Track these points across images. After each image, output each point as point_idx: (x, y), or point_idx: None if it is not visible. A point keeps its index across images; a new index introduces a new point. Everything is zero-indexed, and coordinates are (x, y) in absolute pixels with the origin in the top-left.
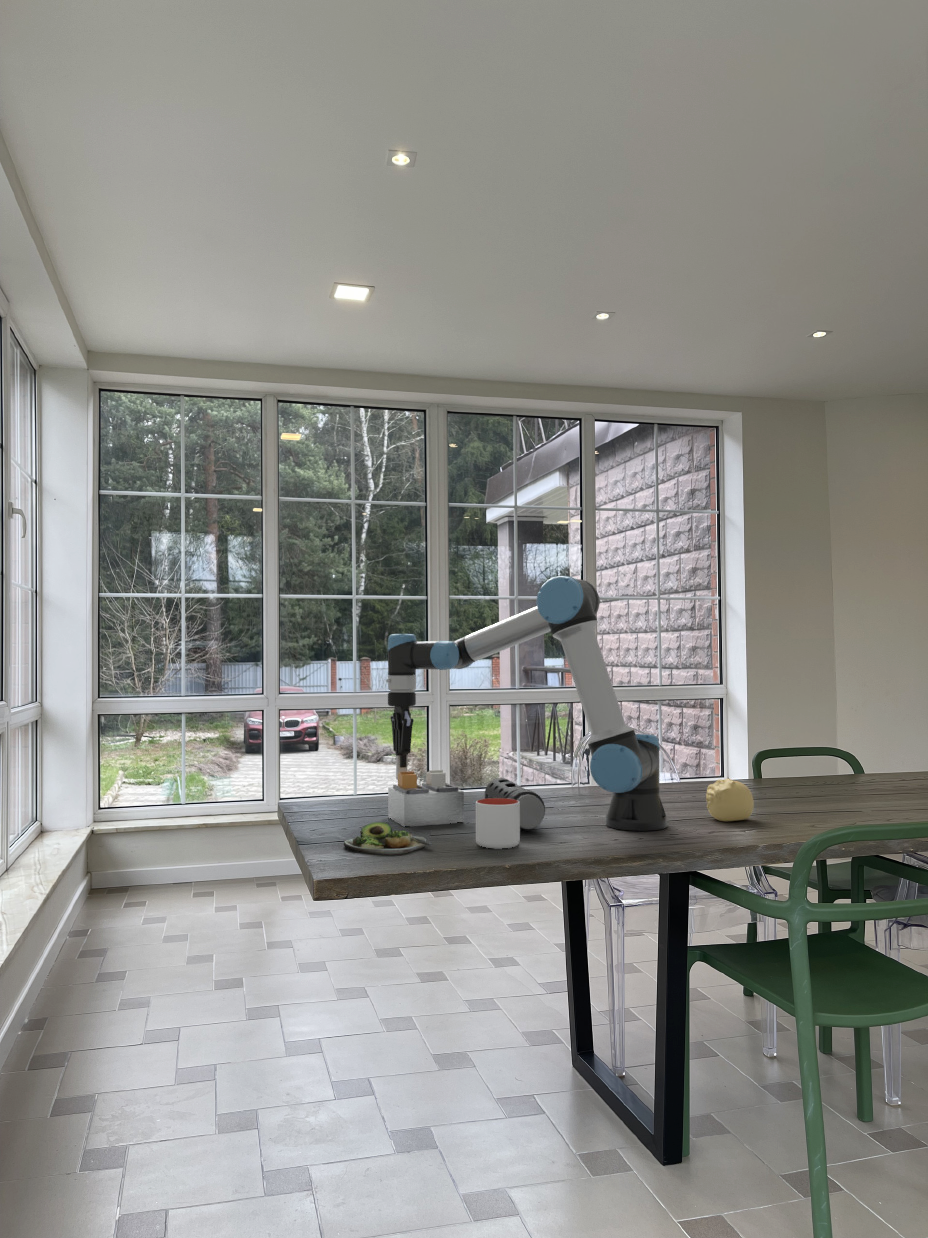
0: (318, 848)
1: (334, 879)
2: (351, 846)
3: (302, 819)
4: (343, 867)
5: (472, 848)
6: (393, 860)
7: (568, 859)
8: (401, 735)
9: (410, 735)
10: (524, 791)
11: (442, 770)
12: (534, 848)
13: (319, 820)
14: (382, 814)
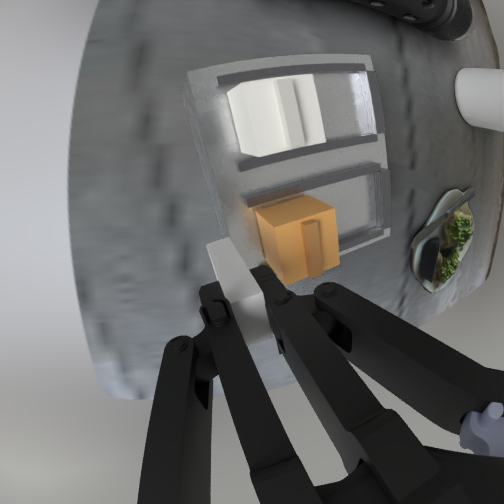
0: (419, 315)
1: (487, 273)
2: (449, 280)
3: None
4: (474, 273)
5: (470, 133)
6: (477, 231)
7: (496, 64)
8: (394, 393)
9: (429, 342)
10: (471, 10)
11: (291, 80)
12: (473, 64)
13: None
14: (172, 267)
